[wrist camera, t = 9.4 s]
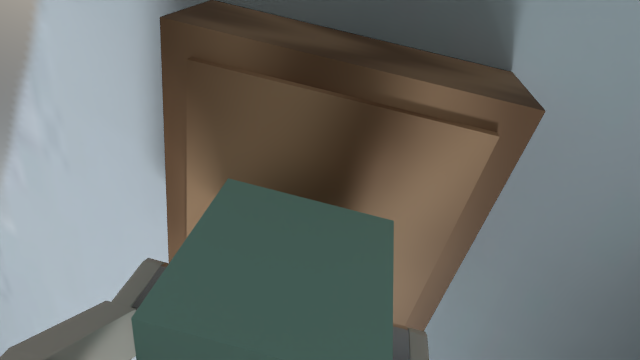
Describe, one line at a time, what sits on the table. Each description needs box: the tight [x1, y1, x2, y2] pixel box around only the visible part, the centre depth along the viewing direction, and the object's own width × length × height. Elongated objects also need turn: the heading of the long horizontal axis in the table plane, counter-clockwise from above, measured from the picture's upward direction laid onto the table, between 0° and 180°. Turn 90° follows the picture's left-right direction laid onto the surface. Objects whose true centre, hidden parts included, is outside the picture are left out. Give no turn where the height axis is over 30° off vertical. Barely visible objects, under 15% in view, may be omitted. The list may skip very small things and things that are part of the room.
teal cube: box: [131, 178, 394, 360], centre depth 11 cm, size 5×5×5 cm
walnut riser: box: [160, 0, 545, 331], centre depth 17 cm, size 12×12×4 cm
